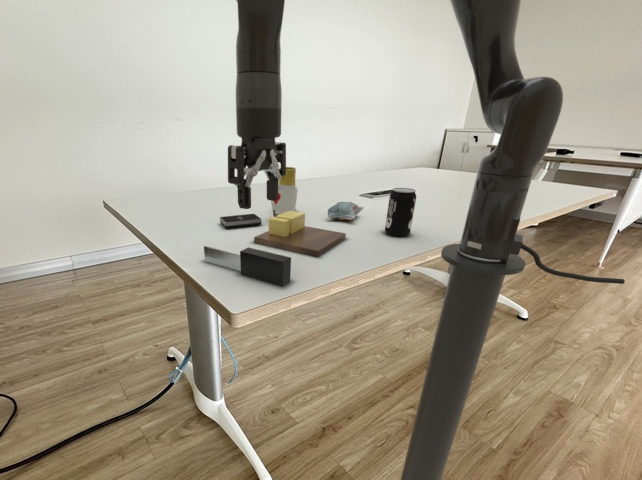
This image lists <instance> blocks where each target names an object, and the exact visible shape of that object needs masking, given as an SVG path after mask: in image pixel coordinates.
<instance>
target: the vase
mask: <svg viewBox="0 0 642 480" xmlns="http://www.w3.org/2000/svg"><path fill="white" fill-rule="evenodd" d="M278 169H281V167H279V168H278ZM296 170H297V169H296V167H293V166H286V175H285V176H281V179H280V180H279V183H278V186H280V185H285V186H295V187H296V173H297V172H296ZM296 210H297V209H295V211H294V212H297V211H296Z"/></svg>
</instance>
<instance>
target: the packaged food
mask: <svg viewBox="0 0 642 480" xmlns="http://www.w3.org/2000/svg"><path fill="white" fill-rule="evenodd" d="M363 210H364V206H359V205H358V204H356V203H355V202H352V201H338V202H336V203H335V204H334V205H331V207H329V208H328V209H327V217H328V218H331V219H333V220H336V221H353V220H355V219H356V216H357V215H358V214H360V212H361V211H363Z"/></svg>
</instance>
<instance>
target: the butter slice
mask: <svg viewBox="0 0 642 480" xmlns="http://www.w3.org/2000/svg"><path fill="white" fill-rule="evenodd" d="M268 231H269V234H273V235H278V236H282V237H286V236H288V235H289V220H287V219H281V218H275V217H274V216H272V217H270V218H268Z"/></svg>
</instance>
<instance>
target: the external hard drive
mask: <svg viewBox="0 0 642 480" xmlns="http://www.w3.org/2000/svg"><path fill="white" fill-rule="evenodd" d="M219 223H220V224H221V225H222V226H223V227H224V228H225V229H237V228H245V227H246V228H247V227H255V226H261V225H262V218H261V217H260V216H258V215H257V214H256V213H247V214H245V213H244V214H236V215H235V214H234V215H226V216H220V217H219Z"/></svg>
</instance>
